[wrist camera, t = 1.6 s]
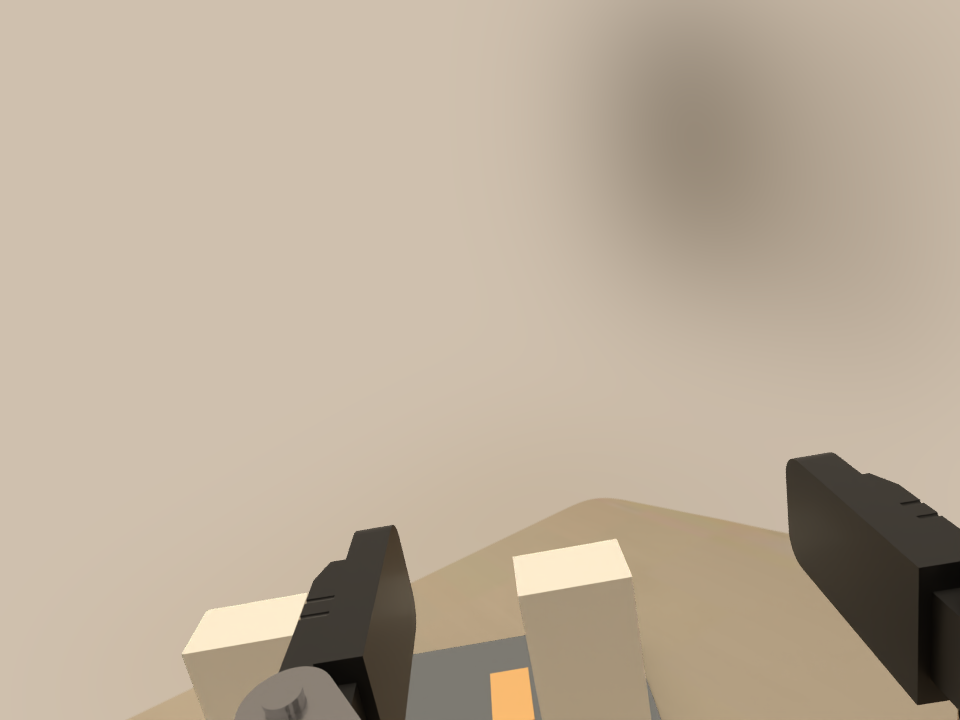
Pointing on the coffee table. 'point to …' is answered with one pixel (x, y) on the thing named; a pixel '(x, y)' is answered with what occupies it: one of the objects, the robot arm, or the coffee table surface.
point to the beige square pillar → (583, 633)
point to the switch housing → (478, 683)
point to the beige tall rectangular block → (239, 651)
